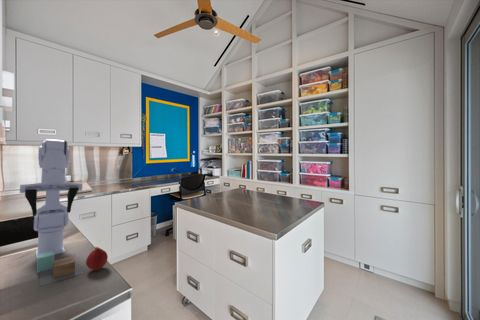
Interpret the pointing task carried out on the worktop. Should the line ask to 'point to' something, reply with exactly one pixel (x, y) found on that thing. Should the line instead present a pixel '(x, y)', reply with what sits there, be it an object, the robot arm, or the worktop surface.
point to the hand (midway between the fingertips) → (52, 213)
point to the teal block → (45, 261)
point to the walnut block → (63, 267)
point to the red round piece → (96, 259)
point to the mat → (48, 278)
